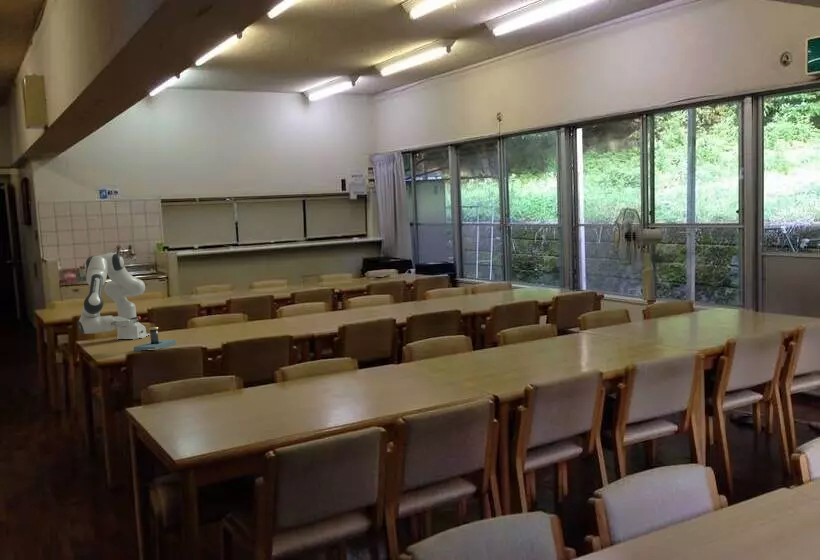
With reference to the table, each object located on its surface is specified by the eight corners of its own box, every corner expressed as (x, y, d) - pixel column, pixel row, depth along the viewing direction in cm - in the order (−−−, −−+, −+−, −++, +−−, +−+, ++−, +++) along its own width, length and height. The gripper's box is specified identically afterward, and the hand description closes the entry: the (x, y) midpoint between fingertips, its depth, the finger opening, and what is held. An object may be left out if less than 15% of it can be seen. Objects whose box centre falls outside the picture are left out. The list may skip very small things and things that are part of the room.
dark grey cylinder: (151, 347, 436) (149, 327, 435) (161, 346, 436) (159, 326, 435) (149, 348, 430) (147, 328, 429) (159, 347, 431) (157, 328, 430)
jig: (155, 344, 445) (154, 340, 445) (175, 343, 442) (175, 339, 442) (133, 351, 424) (133, 346, 424) (155, 350, 421) (154, 346, 421)
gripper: (113, 319, 408) (138, 316, 417) (104, 316, 425) (128, 312, 433) (114, 330, 409) (139, 327, 417) (105, 326, 425) (129, 323, 434)
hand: (133, 319), depth 425 cm, fingers open, 8 cm apart
